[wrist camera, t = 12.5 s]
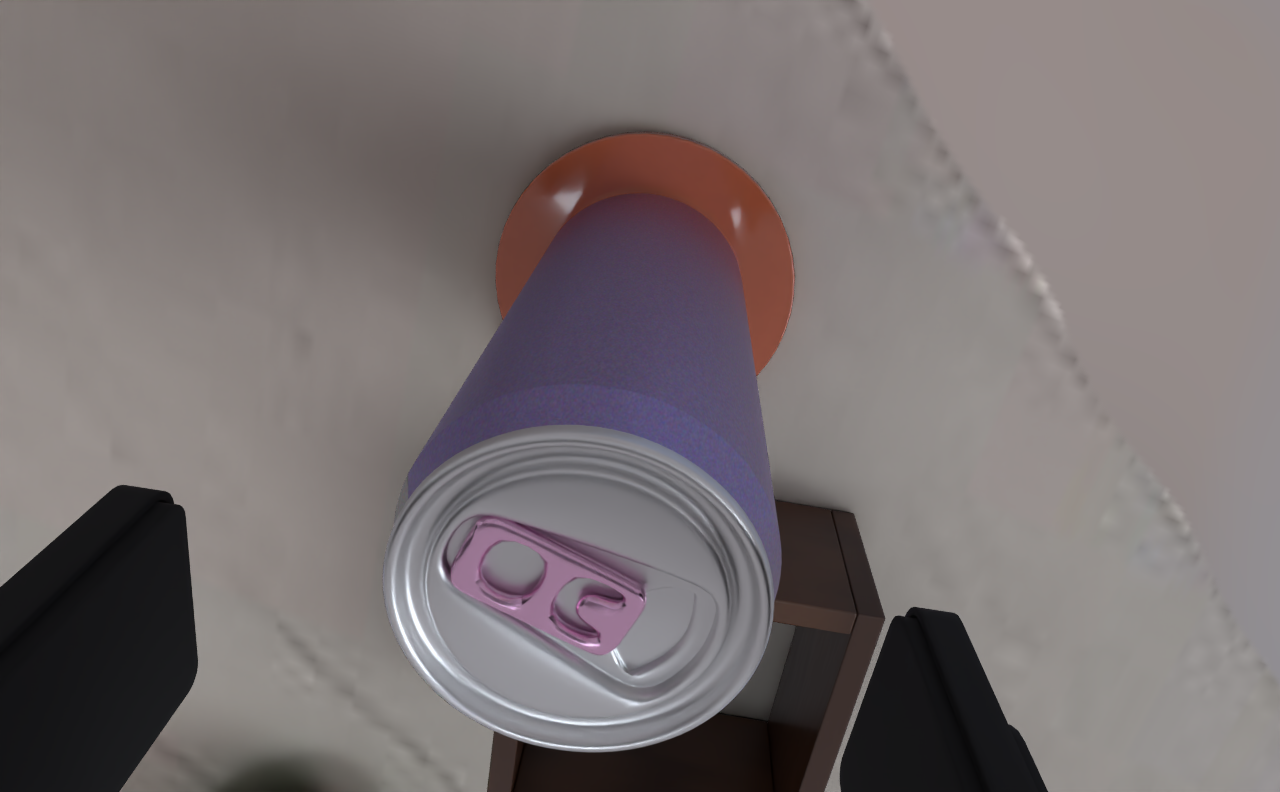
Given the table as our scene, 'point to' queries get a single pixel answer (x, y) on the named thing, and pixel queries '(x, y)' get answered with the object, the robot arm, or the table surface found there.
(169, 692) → the robot arm
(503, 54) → the table surface
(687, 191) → the coaster
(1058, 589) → the table surface
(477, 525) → the beverage can
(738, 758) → the caddy
